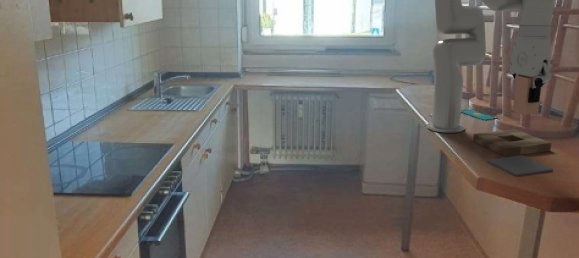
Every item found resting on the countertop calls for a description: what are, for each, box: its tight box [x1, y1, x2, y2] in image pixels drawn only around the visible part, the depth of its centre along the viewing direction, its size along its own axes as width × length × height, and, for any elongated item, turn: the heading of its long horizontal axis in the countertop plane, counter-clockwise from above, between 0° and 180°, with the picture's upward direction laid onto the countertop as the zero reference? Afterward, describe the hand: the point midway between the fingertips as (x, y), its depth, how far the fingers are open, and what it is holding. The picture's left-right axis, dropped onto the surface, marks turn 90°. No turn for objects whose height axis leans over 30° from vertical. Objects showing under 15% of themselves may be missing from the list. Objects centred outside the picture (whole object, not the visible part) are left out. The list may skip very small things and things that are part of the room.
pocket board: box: [472, 128, 552, 157], centre depth 158 cm, size 16×16×2 cm
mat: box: [486, 154, 554, 177], centre depth 141 cm, size 12×12×1 cm
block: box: [512, 75, 542, 116], centre depth 135 cm, size 4×4×10 cm
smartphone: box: [461, 108, 494, 121], centre depth 195 cm, size 7×1×15 cm
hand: (526, 99), depth 135 cm, fingers closed on block, 4 cm apart
